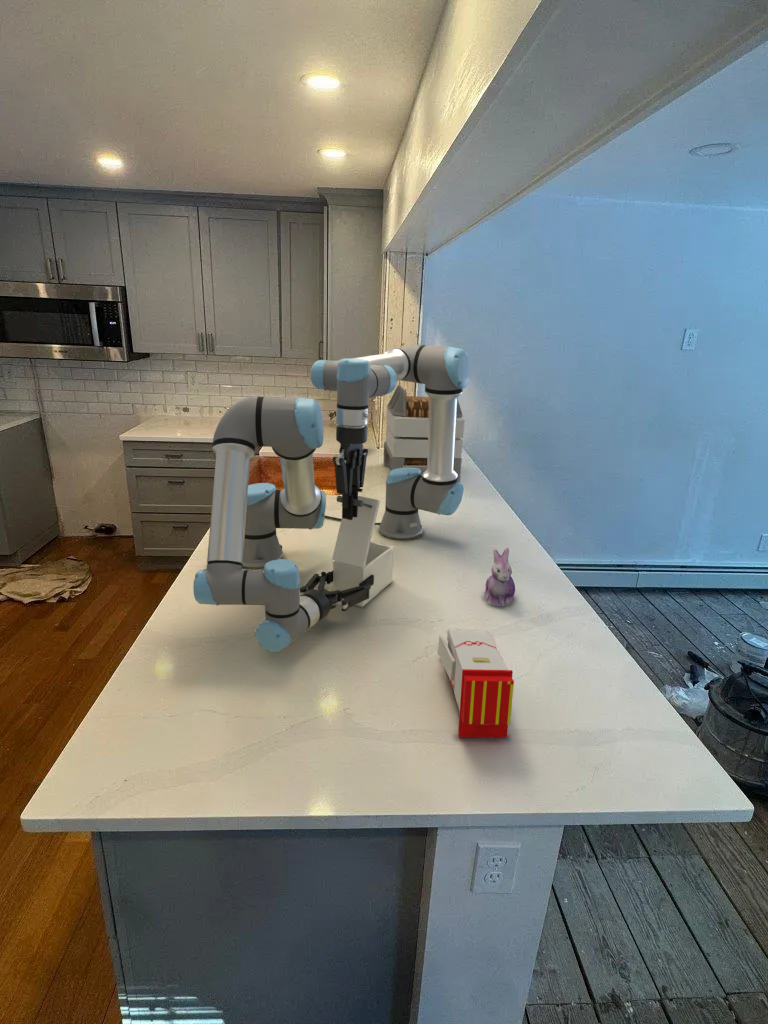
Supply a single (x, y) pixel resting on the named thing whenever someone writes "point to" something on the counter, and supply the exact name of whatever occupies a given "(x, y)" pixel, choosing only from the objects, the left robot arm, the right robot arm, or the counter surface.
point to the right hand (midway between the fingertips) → (349, 517)
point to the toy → (478, 682)
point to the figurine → (500, 581)
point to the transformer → (414, 432)
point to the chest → (366, 571)
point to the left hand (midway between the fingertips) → (356, 574)
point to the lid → (356, 533)
